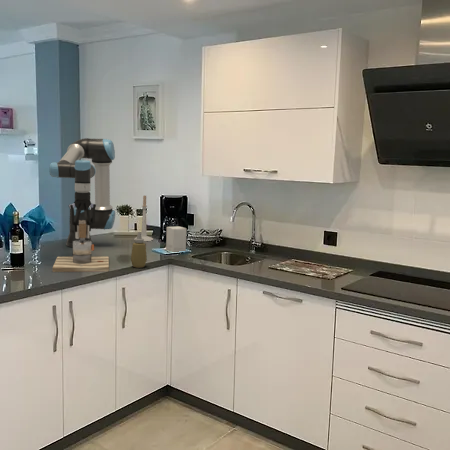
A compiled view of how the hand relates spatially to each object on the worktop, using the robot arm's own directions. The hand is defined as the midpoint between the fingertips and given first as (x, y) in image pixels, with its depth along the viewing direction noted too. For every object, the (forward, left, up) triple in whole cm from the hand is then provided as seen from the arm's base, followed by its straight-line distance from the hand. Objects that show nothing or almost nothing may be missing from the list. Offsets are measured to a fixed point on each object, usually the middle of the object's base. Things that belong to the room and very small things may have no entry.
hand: (82, 238), depth 257 cm
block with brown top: (0, +1, -8) cm, 8 cm away
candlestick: (-75, +36, -14) cm, 84 cm away
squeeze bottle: (+3, +28, -14) cm, 32 cm away
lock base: (0, 0, -14) cm, 14 cm away
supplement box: (-34, +52, -14) cm, 64 cm away
